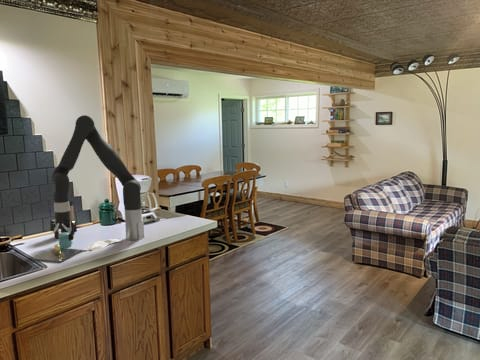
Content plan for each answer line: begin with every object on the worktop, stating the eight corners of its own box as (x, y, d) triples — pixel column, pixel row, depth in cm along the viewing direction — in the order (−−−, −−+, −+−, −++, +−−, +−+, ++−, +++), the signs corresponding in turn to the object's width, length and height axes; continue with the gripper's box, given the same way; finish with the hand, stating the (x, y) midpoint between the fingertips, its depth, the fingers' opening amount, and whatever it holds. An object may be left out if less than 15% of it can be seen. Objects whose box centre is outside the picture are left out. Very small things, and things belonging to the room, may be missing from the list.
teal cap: (67, 243, 197) (66, 230, 196) (76, 243, 196) (75, 231, 195) (54, 249, 188) (52, 236, 187) (63, 250, 187) (62, 237, 186)
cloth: (119, 237, 209) (118, 234, 208) (130, 243, 199) (130, 239, 199) (72, 248, 191) (72, 244, 190) (82, 255, 181) (82, 250, 181)
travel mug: (61, 237, 208) (58, 203, 205) (60, 233, 215) (58, 200, 212) (75, 235, 212) (73, 202, 208) (74, 231, 218) (72, 199, 215)
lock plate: (82, 251, 184) (81, 241, 183) (60, 263, 169) (59, 251, 168) (55, 249, 188) (54, 239, 187) (31, 260, 172) (30, 249, 171)
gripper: (78, 209, 191) (80, 238, 194) (55, 207, 194) (57, 236, 197) (69, 212, 184) (71, 242, 187) (45, 210, 187) (47, 240, 190)
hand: (64, 239), depth 192 cm, fingers open, 8 cm apart
